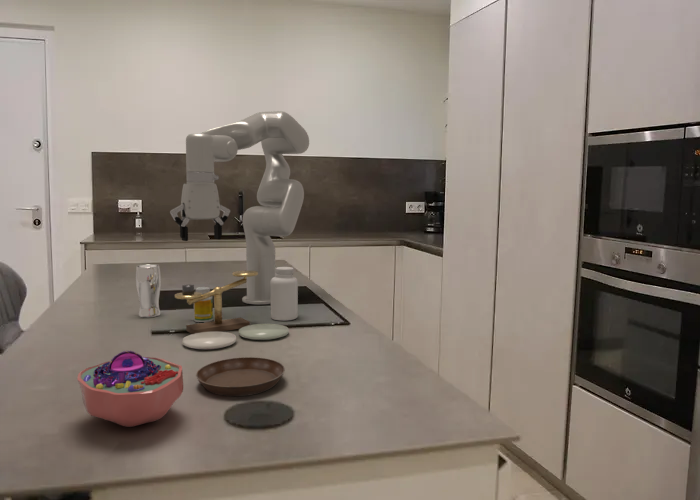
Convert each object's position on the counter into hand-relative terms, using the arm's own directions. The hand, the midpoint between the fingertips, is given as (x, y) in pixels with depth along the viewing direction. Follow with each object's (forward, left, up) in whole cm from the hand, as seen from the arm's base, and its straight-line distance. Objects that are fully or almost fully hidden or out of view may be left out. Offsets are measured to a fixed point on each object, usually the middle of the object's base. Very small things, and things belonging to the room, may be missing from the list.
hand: (201, 239), depth 169 cm
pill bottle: (-21, +9, -24) cm, 33 cm away
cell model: (+36, +59, -24) cm, 73 cm away
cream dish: (+7, +23, -24) cm, 34 cm away
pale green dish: (-8, +23, -24) cm, 34 cm away
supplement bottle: (0, -1, -24) cm, 24 cm away
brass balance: (0, +10, -24) cm, 26 cm away
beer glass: (+11, -16, -24) cm, 30 cm away
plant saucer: (+13, +53, -24) cm, 60 cm away
